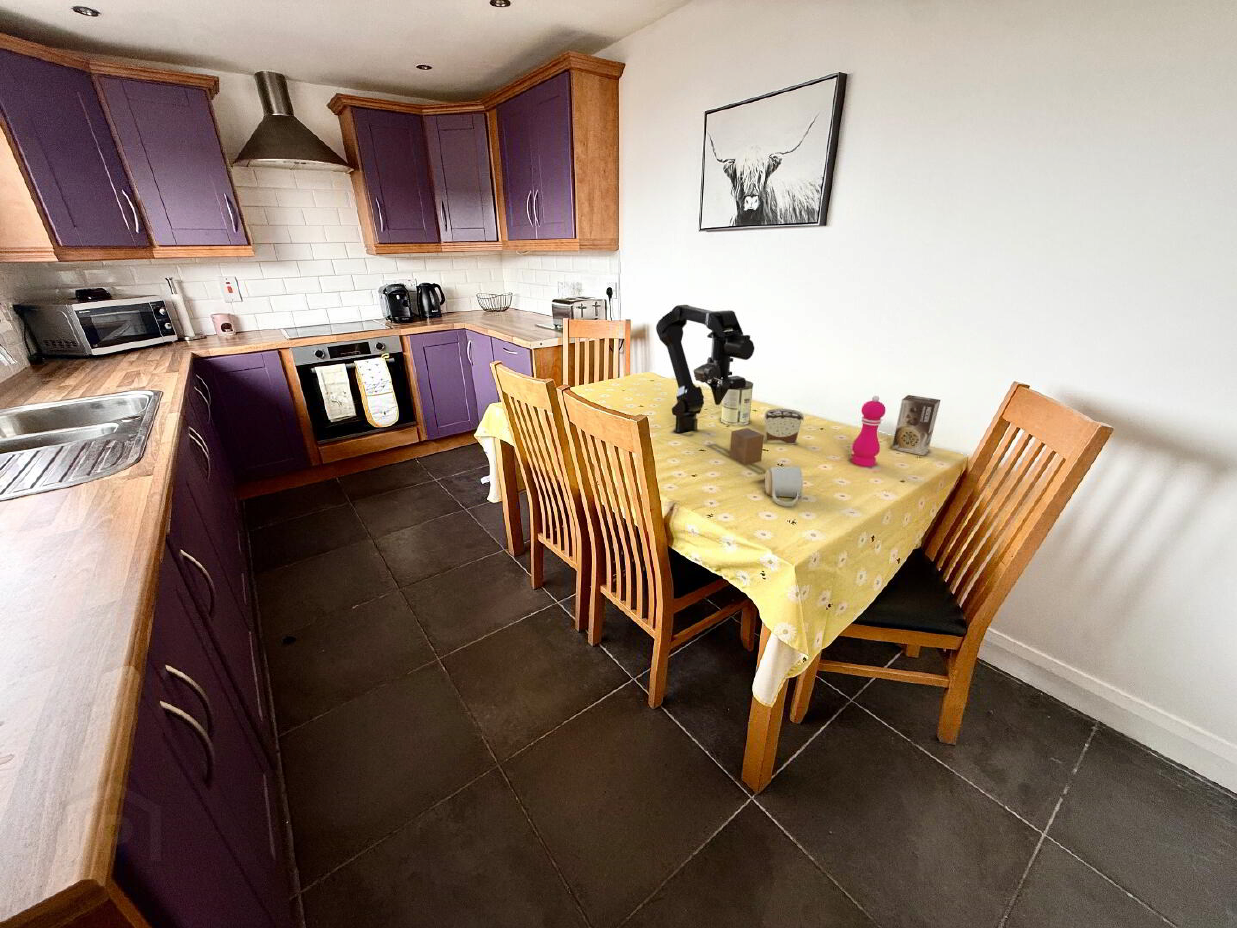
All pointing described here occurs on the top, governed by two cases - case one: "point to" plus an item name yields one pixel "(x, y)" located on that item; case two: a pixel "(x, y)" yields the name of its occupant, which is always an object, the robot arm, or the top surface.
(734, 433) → the walnut slider
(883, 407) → the pepper mill
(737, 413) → the coffee can
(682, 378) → the robot arm
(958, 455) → the top surface
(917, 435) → the coffee box
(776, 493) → the ceramic mug
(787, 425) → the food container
